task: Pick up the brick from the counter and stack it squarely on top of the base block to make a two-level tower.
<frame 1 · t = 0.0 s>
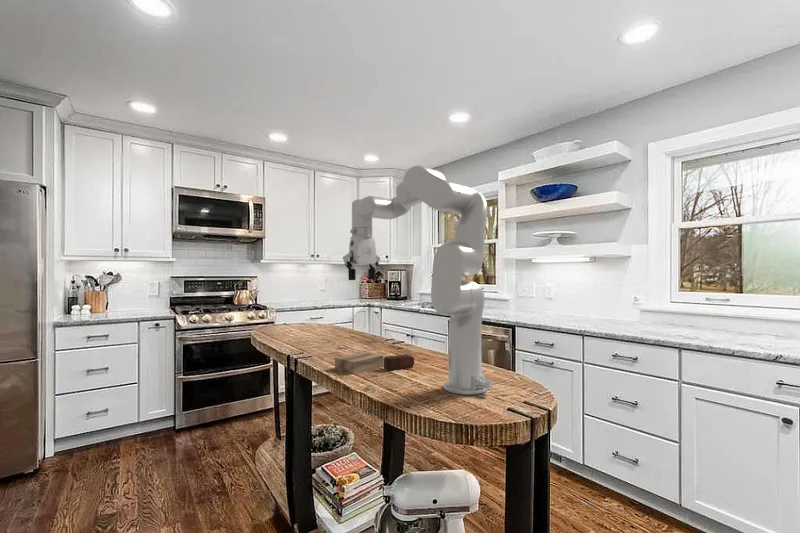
hand: (362, 279, 149), 31 cm above the table, tool pointing down, fingers open, 9 cm apart
base block: (359, 367, 144), on the table
brick: (399, 369, 143), on the table
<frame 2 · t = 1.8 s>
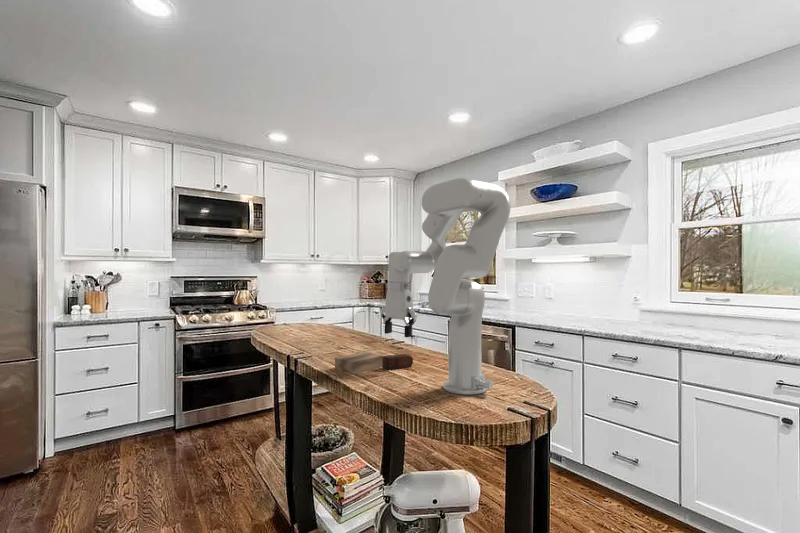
hand: (398, 334, 143), 12 cm above the table, tool pointing down, fingers open, 9 cm apart
nothing on the table moved.
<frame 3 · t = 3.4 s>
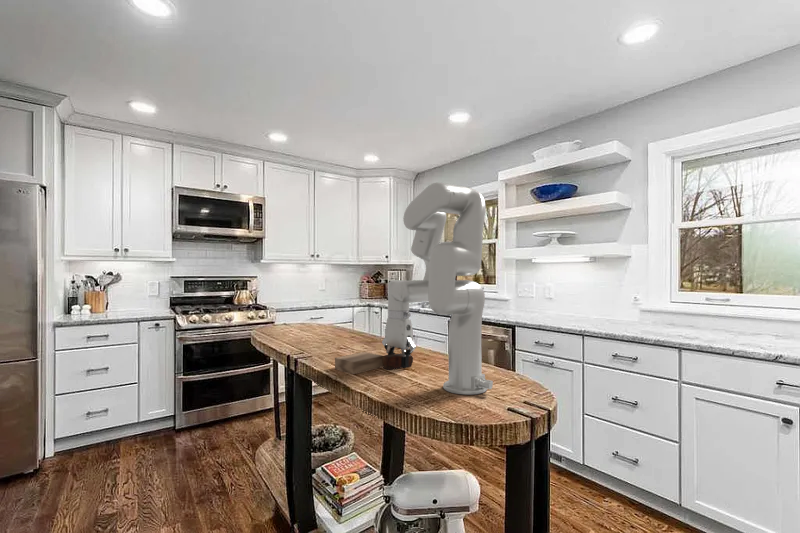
hand: (398, 365, 143), 1 cm above the table, tool pointing down, fingers open, 6 cm apart
brick: (397, 368, 144), on the table, touching gripper
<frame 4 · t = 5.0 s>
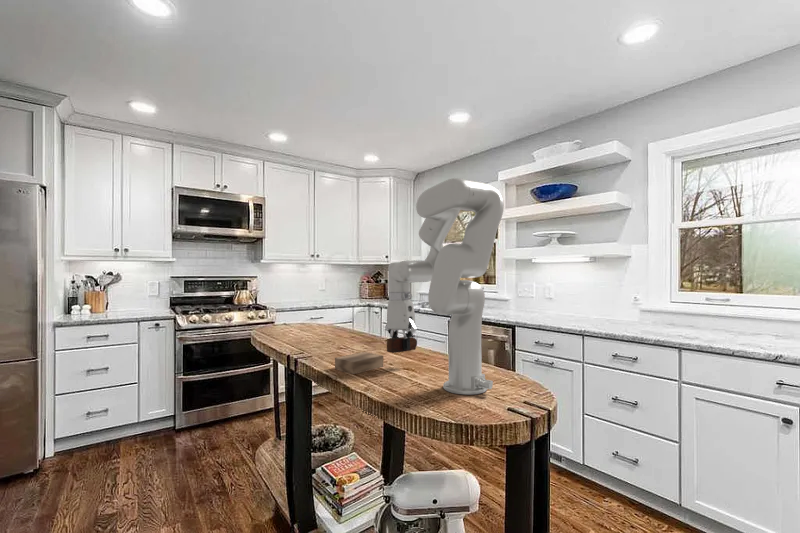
hand: (401, 348, 142), 7 cm above the table, tool pointing down, fingers closed on brick, 4 cm apart
brick: (402, 351, 142), point 6 cm above the table, touching gripper
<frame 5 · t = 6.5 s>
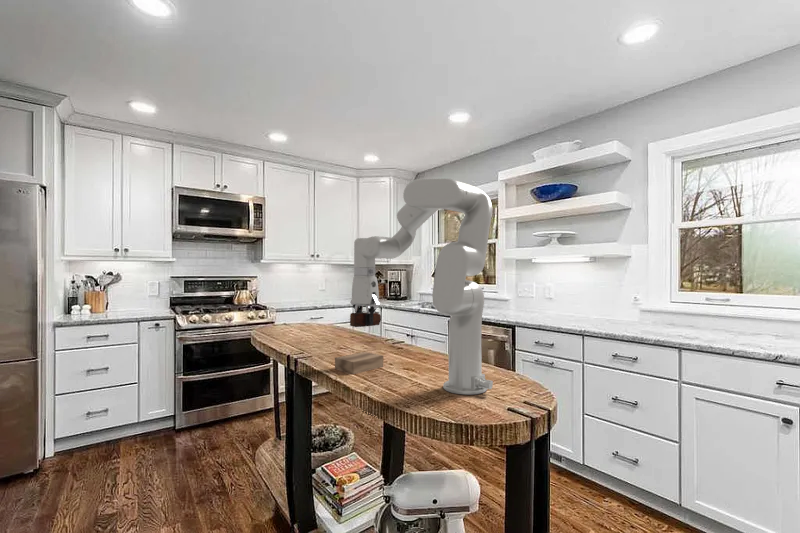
hand: (364, 323, 144), 16 cm above the table, tool pointing down, fingers closed on brick, 4 cm apart
brick: (365, 326, 144), point 15 cm above the table, touching gripper
when the fingers open (5 cm above the table, at t = 9.3 s): brick stays where it is, resting on base block.
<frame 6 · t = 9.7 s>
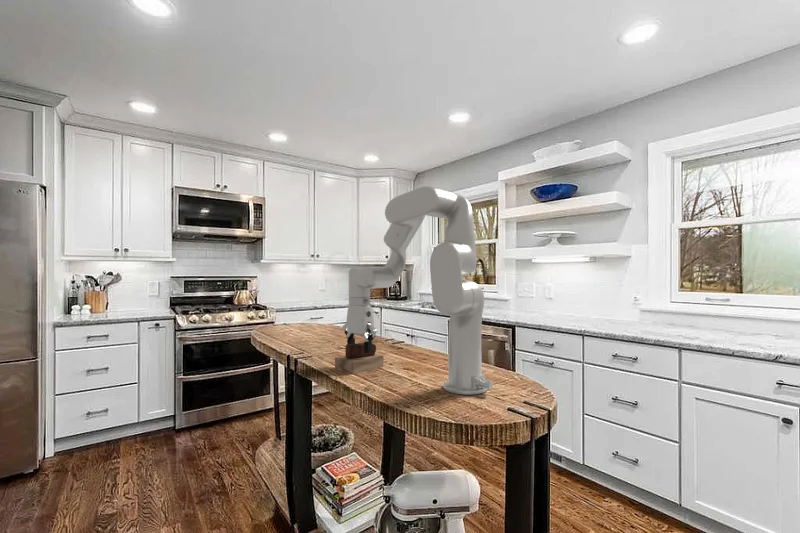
hand: (359, 350, 144), 6 cm above the table, tool pointing down, fingers open, 8 cm apart
brick: (360, 357, 144), point 4 cm above the table, touching base block
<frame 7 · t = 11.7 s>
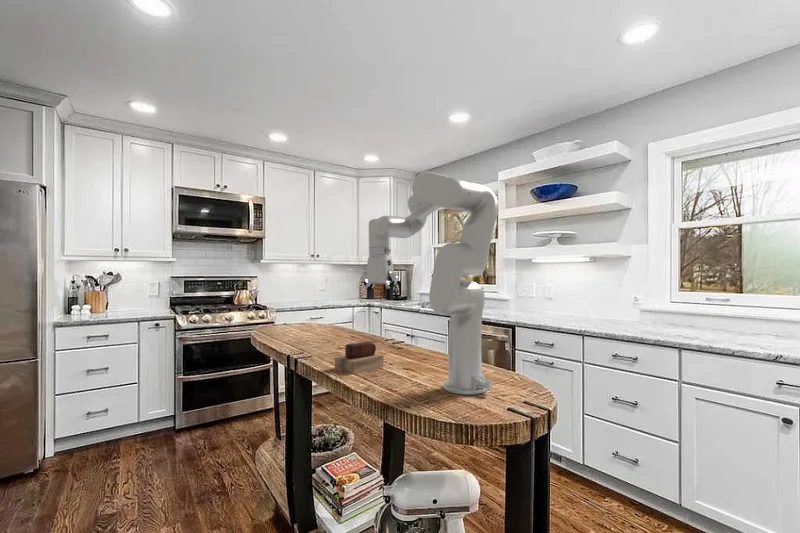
hand: (379, 299, 148), 24 cm above the table, tool pointing down, fingers open, 9 cm apart
nothing on the table moved.
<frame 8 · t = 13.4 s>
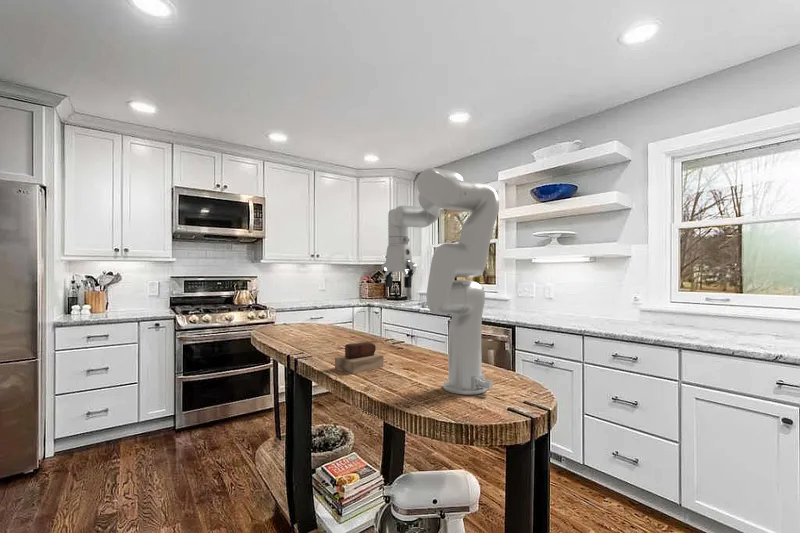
hand: (398, 287, 153), 28 cm above the table, tool pointing down, fingers open, 9 cm apart
nothing on the table moved.
at the end: brick inside the target area on the base block (0.5 cm from its centre), point 3.8 cm above the base block's base; brick tilted 0°; the gripper is holding nothing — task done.
